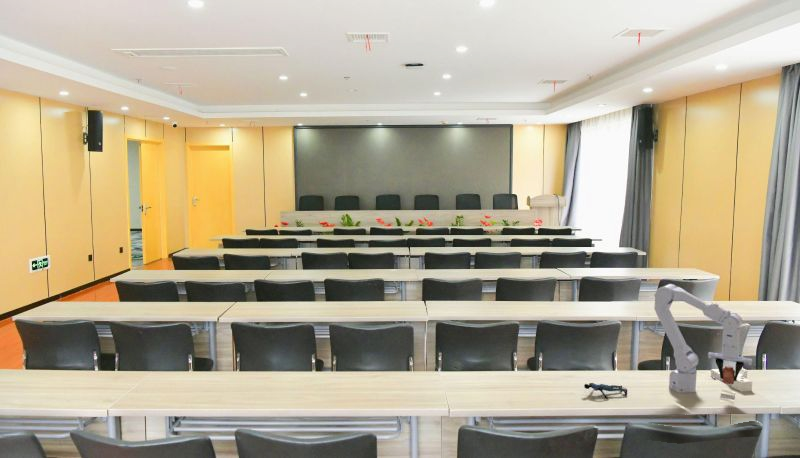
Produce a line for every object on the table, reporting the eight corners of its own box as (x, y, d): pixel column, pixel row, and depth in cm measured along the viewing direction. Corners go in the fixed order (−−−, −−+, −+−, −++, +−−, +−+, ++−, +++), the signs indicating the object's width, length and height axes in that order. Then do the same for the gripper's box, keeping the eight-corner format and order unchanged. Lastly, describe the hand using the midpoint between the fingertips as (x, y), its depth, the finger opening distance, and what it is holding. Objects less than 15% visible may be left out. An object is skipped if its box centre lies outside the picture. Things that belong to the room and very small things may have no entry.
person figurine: (617, 392, 231) (577, 388, 228) (619, 382, 231) (579, 377, 228) (631, 402, 220) (589, 398, 217) (633, 391, 220) (591, 387, 217)
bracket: (746, 388, 232) (747, 370, 232) (729, 388, 232) (731, 370, 231) (726, 376, 245) (727, 360, 245) (710, 377, 245) (711, 360, 244)
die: (740, 394, 225) (741, 382, 225) (731, 389, 230) (732, 377, 230) (751, 393, 226) (752, 381, 226) (741, 388, 231) (742, 376, 231)
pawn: (727, 384, 214) (728, 369, 213) (719, 380, 218) (720, 365, 217) (736, 383, 215) (737, 368, 214) (728, 380, 219) (729, 365, 218)
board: (735, 407, 212) (735, 404, 212) (717, 403, 215) (717, 401, 215) (737, 394, 225) (737, 392, 224) (720, 391, 228) (720, 388, 228)
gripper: (708, 344, 216) (706, 378, 217) (752, 351, 208) (749, 386, 209) (710, 339, 221) (708, 373, 223) (753, 346, 213) (750, 380, 215)
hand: (728, 379), depth 216 cm, fingers closed on pawn, 4 cm apart
